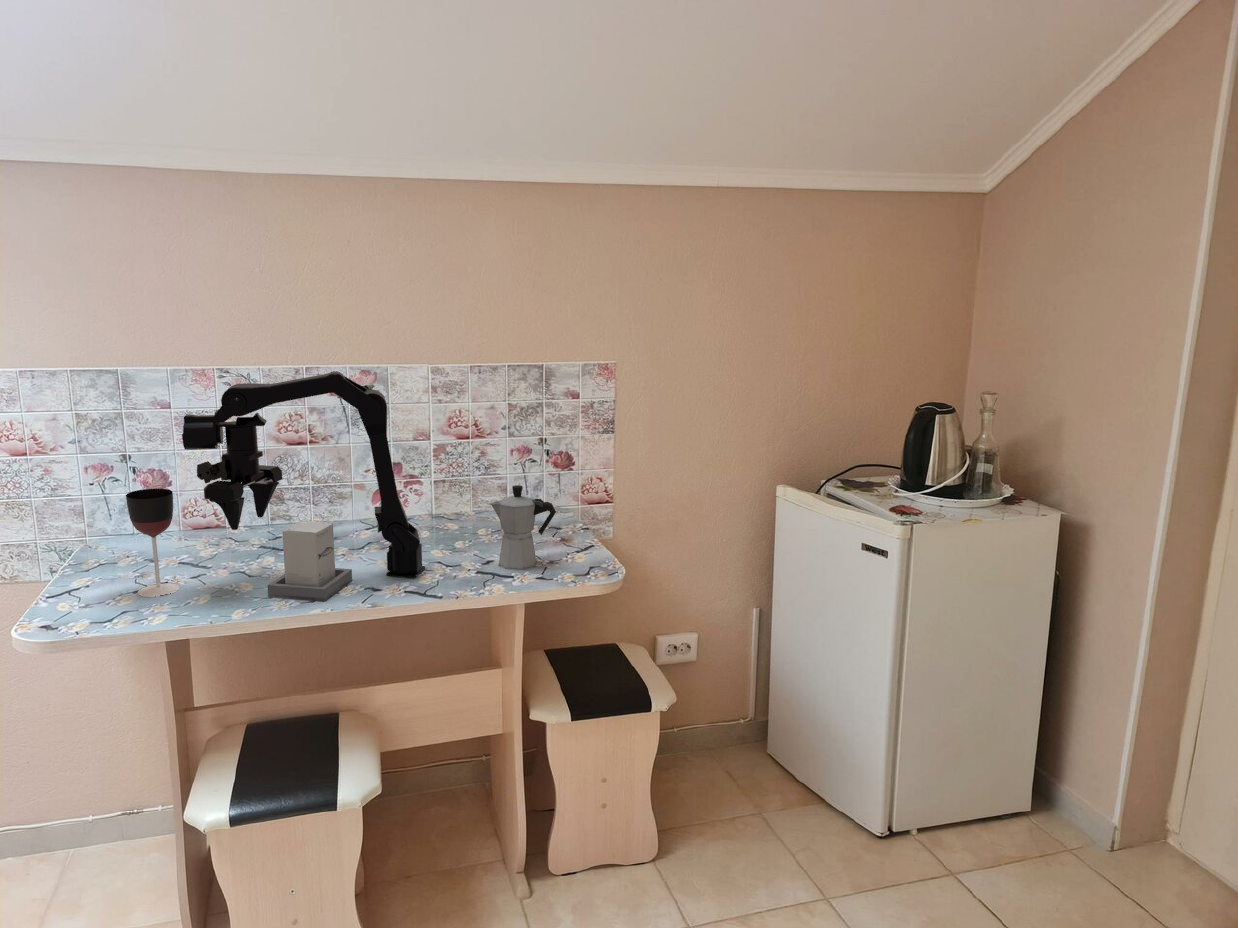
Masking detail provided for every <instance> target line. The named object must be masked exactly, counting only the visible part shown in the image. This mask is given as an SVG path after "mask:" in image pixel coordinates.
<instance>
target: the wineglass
mask: <svg viewBox="0 0 1238 928" xmlns="http://www.w3.org/2000/svg"><path fill="white" fill-rule="evenodd" d="M125 499H126V506H127V511H128V515H129V519H130V522H131V525H133V527H134V528H135V529H136V531H137V532H139V533H141V534H144V535H145V536H146V535H147V536H148V537H151V545H152V555H153V556H152V557H153V566H154V575H155V577H154V578H155V584H151V585H148V586H145V587H143V588H140V589H139V590H138V591H137V595H138V596H140V597H144V598H156V597H157V598H158V597H161V596H160V595H164V594H168V595H171V594H173V593H175V592H178V591H179V590H180V589H181V588H180V585H178V584H175V583H170V582H169V583H161V576H160V566H159V555H158V546H157V545H158V543H157V536H159V535H160V534H162V533H164V532H165V531H167V529H168V528H169V527H170V526H171V523H172V521H173V515H174V495H173V491H172V490H171V489H168V488H144V489H143V488H142V489H137V490H133V491H130V492H128V493H126V494H125ZM177 590H178V591H177ZM170 593H171V594H170ZM155 596H156V597H155ZM164 596H165V595H164Z"/></svg>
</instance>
